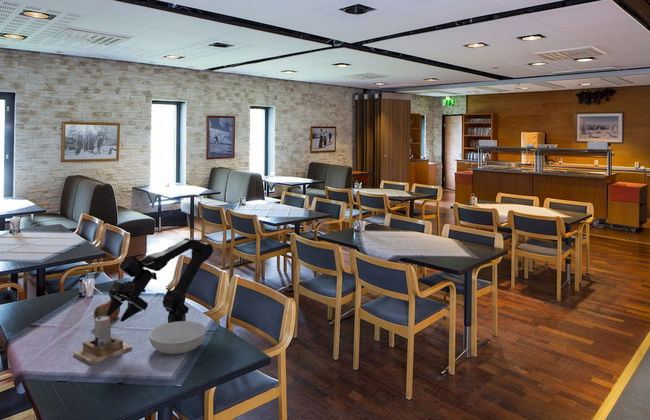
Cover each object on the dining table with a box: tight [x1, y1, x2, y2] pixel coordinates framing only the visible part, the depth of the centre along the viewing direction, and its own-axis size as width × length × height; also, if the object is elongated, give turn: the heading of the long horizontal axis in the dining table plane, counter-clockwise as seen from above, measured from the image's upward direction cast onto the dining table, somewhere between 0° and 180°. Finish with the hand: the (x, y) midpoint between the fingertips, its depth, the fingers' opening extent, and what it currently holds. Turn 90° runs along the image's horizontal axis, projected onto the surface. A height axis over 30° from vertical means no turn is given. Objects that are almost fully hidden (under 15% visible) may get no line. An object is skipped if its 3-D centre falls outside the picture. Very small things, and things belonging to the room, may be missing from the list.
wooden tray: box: [73, 335, 133, 365], centre depth 181 cm, size 16×12×4 cm
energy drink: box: [93, 316, 112, 347], centre depth 181 cm, size 5×5×12 cm
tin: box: [93, 299, 121, 322], centre depth 212 cm, size 15×3×8 cm, turn 168°
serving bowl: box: [148, 320, 207, 355], centre depth 186 cm, size 21×21×7 cm
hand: (114, 318), depth 184 cm, fingers open, 9 cm apart
